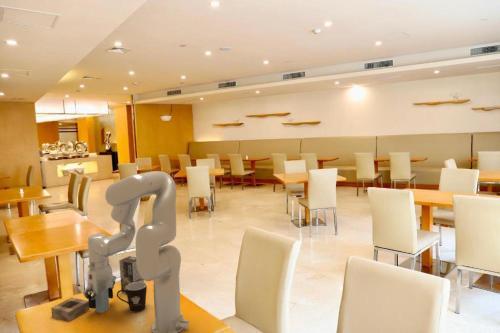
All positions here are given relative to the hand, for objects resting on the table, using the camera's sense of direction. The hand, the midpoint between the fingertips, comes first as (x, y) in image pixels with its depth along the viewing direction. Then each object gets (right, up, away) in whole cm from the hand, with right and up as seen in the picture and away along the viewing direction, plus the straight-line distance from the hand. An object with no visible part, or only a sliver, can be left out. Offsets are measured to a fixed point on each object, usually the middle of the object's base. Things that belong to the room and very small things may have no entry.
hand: (101, 302), depth 155 cm
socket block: (-12, -4, -2) cm, 12 cm away
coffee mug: (+14, -3, +1) cm, 14 cm away
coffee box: (+8, -2, +16) cm, 18 cm away
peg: (0, -3, 0) cm, 3 cm away
